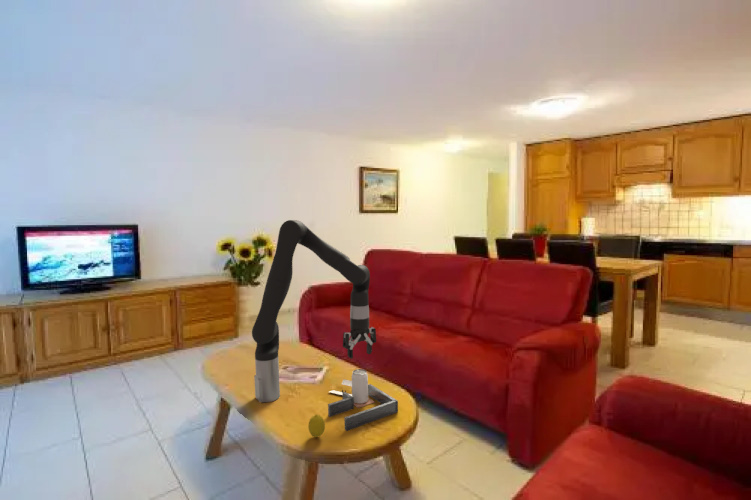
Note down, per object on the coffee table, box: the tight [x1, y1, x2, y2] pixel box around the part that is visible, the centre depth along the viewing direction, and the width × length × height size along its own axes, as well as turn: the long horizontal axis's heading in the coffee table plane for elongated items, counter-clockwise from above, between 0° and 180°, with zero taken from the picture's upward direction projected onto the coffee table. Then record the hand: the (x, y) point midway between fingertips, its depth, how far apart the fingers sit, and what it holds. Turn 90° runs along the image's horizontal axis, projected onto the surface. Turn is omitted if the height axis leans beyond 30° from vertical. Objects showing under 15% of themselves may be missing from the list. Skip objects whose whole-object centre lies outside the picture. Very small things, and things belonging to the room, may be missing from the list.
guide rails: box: [327, 383, 399, 432], centre depth 154 cm, size 23×19×4 cm
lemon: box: [307, 414, 326, 438], centre depth 137 cm, size 6×6×8 cm
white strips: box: [328, 379, 352, 396], centre depth 173 cm, size 12×12×2 cm
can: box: [351, 368, 369, 404], centre depth 162 cm, size 6×6×12 cm
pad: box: [354, 397, 376, 409], centre depth 162 cm, size 8×8×1 cm
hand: (359, 355), depth 160 cm, fingers open, 8 cm apart
